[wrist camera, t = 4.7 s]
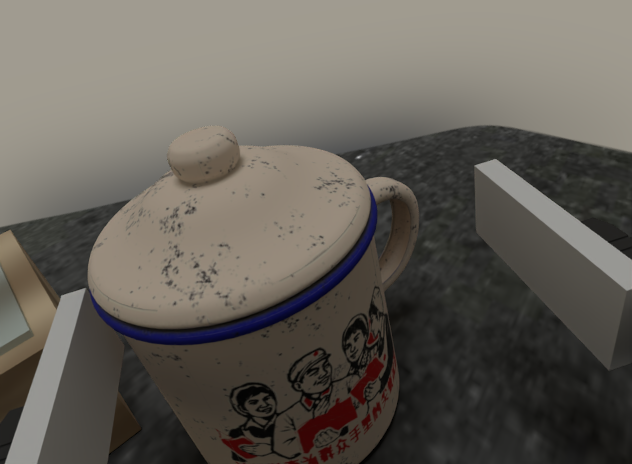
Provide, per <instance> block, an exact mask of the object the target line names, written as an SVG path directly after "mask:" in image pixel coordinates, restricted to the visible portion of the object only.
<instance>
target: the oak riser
mask: <svg viewBox="0 0 632 464" xmlns="http://www.w3.org/2000/svg"><path fill="white" fill-rule="evenodd" d="M59 302H60V298H59V297H58V295H57V294H56V293H55V291H54V290H53V288H52V287H51V286H50V284H49V283H48V282H47V280H46V279H45V277H44V276H43V275H42V273H41V272H40V270H39V269H38V268H37V266H36V265H35V263H34V262H33V261H32V259H31V258H30V257H29V255H28V254H27V252H26V251H25V250H24V248H23V247H22V245H21V244H20V243H19V241H18V240H17V239H16V237H15V236H14V234H13V233H12V232H11V230H9V231H7V232H5V233H3V234H1V235H0V423H1V422H2V420H3V419H4V418H5V416H6V415H7V413H8V412H9V411H10V410H13V409H16V408H19V407H22V406H25V403H26V400H27V397H28V394H29V391H30V388H31V385H32V382H33V379H34V376H35V373H36V370H37V367H38V364H39V361H40V358H41V355H42V352H43V349H44V346H45V343H46V340H47V338H48V335H49V332H50V329H51V326H52V323H53V320H54V317H55V314H56V311H57V308H58V305H59ZM140 430H141V427H140V425H139V424H138V422H137V421H136V419H135V417H134V416H133V414H132V412H131V411H130V409H129V408H128V406H127V404H126V403H125V401H124V399H123V398H122V396H121V395H120V393H119V391H118V394H117V401H116V408H115V415H114V421H113V428H112V435H111V442H110V449H109V454H110V453H111V452H112V451H114V450H115V449H116V448H117V447H119V446H120V445H121V444H123V443H124V442H125V441H127V440H128V439H129V438H130V437H132V436H133V435H134V434H136V433H137V432H138V431H140Z"/></svg>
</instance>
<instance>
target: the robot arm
mask: <svg viewBox="0 0 632 464" xmlns="http://www.w3.org/2000/svg"><path fill="white" fill-rule="evenodd" d="M474 168H475V207H476V232H477V233H478V234H479V235H480V236H481V237H482V238H483V240H484V241H485V242H486V243H487V244H488V245H489V246H490V247H491V248H492V249H493V250H494V251H495V252H496V253H497V254H498V255H499V256H500V257H501V258H502V259H503V260H504V261H505V262H506V264H507V265H508V266H509V267H510V268H511V269H512V270H513V271H514V272H515V273H516V274H517V275H518V276H519V277H520V278H521V279H522V280H523V281H524V282H525V283H526V284H527V285H528V286H529V287H530V289H531V290H532V291H533V292H534V293H535V294H536V295H537V296H538V297H539V298H540V299H541V300H542V301H543V302H544V303H545V304H546V305H547V306H548V307H549V308H550V309H551V310H552V311H553V313H554V314H555V315H556V316H557V317H558V318H559V319H560V320H561V321H562V322H563V323H564V324H565V325H566V326H567V327H568V328H569V329H570V330H571V331H572V332H573V333H574V334H575V335H576V336H577V338H578V339H579V340H580V341H581V342H582V343H583V344H584V345H585V346H586V347H587V348H588V349H589V350H590V351H591V352H592V353H593V354H594V355H595V356H596V357H597V358H598V359H599V360H600V362H601V363H602V364H603V365H604V366H605V367H606V368H607V369H608V370H609V371H610V370H613V369H615V368H618V367H621V366H624V365H627V364H630V363H632V238H631V237H630V238H629V237H628V235H627V234H626V233H624V232H623V231H621V230H620V229H618V228H617V227H616V226H614V225H612V224H610V223H607V222H604V221H601V220H598V219H596V218H590V219H587V220H584V221H581V222H580V221H579V220H577V219H576V218H574V217H573V216H572V215H570V214H569V213H568V212H566V211H565V210H564V209H562V208H561V207H560V206H558V205H557V204H556V203H554V202H553V201H552V200H550V199H549V198H548V197H546V196H545V195H543V194H542V193H541V192H539V191H538V190H537V189H535V188H534V187H533V186H531V185H530V184H529V183H527V182H526V181H525V180H523V179H522V178H521V177H519V176H518V175H517V174H515V173H514V172H512V171H511V170H510V169H508V168H507V167H506V166H504V165H503V164H502V163H500V162H499V161H498V160H496V159H494V160H491V161H488V162H485V163H482V164H479V165H475V166H474ZM123 353H124V345H123V343H122V342H121V340H120V339H119V337H118V336H117V334H116V333H115V331H114V330H113V328H111V327H110V326H109V325H107V324H106V323H105V322H104V321H103V319H102V318H101V317H100V316H99V315H98V313H97V311H96V310H95V308H94V306H93V303H92V300H91V296H90V294H89V292H88V291H87V289H86V288H84V289H81V290H78V291H75V292H72V293H68V294H65V295H62V296H61V299H60V302H59V305H58V308H57V311H56V314H55V317H54V320H53V323H52V326H51V329H50V332H49V335H48V338H47V340H46V343H45V346H44V349H43V352H42V355H41V358H40V361H39V364H38V367H37V370H36V373H35V376H34V379H33V382H32V385H31V388H30V391H29V394H28V397H27V400H26V403H25V406H22V407H19V408H16V409H13V410H10V411H9V412H8V413H7V415H6V416H5V418H4V419H3V420H2V422H1V423H0V464H107V462H108V455H109V449H110V442H111V435H112V428H113V421H114V415H115V408H116V401H117V394H118V387H119V380H120V374H121V367H122V360H123Z"/></svg>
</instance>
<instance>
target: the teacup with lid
mask: <svg viewBox="0 0 632 464" xmlns="http://www.w3.org/2000/svg"><path fill="white" fill-rule="evenodd" d="M167 160H168V163H169V165H170V167H171V170H170V171H168V172H167V173H166V174H164V175H163V176H162V177H161V178H160V179H159V180H158V181H157V182H156V183H155V184H154V185H152V186H151V187H149V188H148V189H146V190H145V191H143V192H142V193H140V194H139V195H138V196H136V197H135V198H134V199H132V200H131V201H130V202H129V203H127V204H126V205H125V206H124V207H123V208H122V209H121V210H120V211H119V212H118V213H117V214H116V215H115V216H114V217H113V218H112V219H111V220H110V221H109V223H108V224H107V225H106V226H105V228H104V229H103V230H102V232H101V234H100V235H99V237H98V238H97V240H96V242H95V244H94V247H93V249H92V252H91V255H90V259H89V265H88V283H89V288H90V296H91V300H92V303H93V306H94V308H95V310H96V311H97V313H98V315H99V316H100V317H101V318H102V319H103V321H104V322H105V323H106V324H107V325H109V326H110V327H111V328H113V329H114V330H115V331H117V332H119V333H121V334H123V335H124V337H125V338H126V340H127V341H128V343H129V344H130V346H131V347H132V349H133V350H134V352H135V353H136V355H137V356H138V358H139V359H140V361H141V362H142V364H143V365H144V367H145V369H146V370H147V372H148V373H149V375H150V376H151V378H152V379H153V381H154V382H155V384H156V385H157V387H158V388H159V390H160V391H161V393H162V394H163V396H164V398H165V399H166V401H167V402H168V404H169V405H170V407H171V408H172V410H173V411H174V413H175V414H176V416H177V417H178V419H179V420H180V422H181V423H182V425H183V426H184V428H185V430H186V431H187V433H188V434H189V436H190V437H191V439H192V440H193V442H194V443H195V445H196V446H197V448H198V449H199V451H200V452H201V454H202V455H203V457H204V459H205V460H206V461H207V463H208V464H359V463H360V462H361V461H362V460H363V459H364V458H365V457H366V456H368V455H369V454H370V452H371V451H372V450H373V449H374V448H375V447H376V445H377V444H378V443H379V441H380V440H381V438H382V437H383V435H384V434H385V432H386V430H387V428H388V427H389V425H390V422H391V420H392V418H393V415H394V412H395V409H396V406H397V401H398V395H399V373H398V366H397V361H396V355H395V350H394V344H393V339H392V333H391V328H390V322H389V317H388V311H387V306H386V300H385V295H384V291H385V290H386V289H388V288H389V287H390V286H391V285H392V284H393V283H394V282H395V281H396V280H397V278H398V277H399V276H400V275H401V273H402V272H403V270H404V269H405V267H406V265H407V263H408V261H409V259H410V257H411V255H412V252H413V249H414V246H415V243H416V239H417V234H418V227H419V210H418V204H417V201H416V198H415V196H414V194H413V192H412V191H411V190H410V189H409V188H408V187H407V186H406V185H404V184H402V183H400V182H398V181H396V180H393V179H390V178H385V177H375V178H371V179H368V180H364V178H363V176H362V175H361V174H360V173H359V172H358V171H357V170H356V169H355V168H354V167H353V166H352V165H351V164H350V163H348V162H347V161H346V160H344V159H342V158H341V157H339V156H337V155H335V154H333V153H330V152H327V151H324V150H320V149H316V148H311V147H303V146H290V145H284V146H283V145H278V146H265V147H259V146H238V143H237V140H236V137H235V136H234V134H233V133H232V132H231V131H229V130H228V129H226V128H224V127H222V126H206V127H201V128H198V129H194V130H191V131H189V132H187V133H185V134H183V135H181V136H179V137H178V138H176V139H175V140H174V141H173V142H172V143H171V145H170V146H169V149H168V153H167ZM386 200H390V203H391V208H392V225H391V231H390V235H389V238H388V241H387V244H386V246H385V249H384V251H383V252H382V254H381V256H380V257H379V259H378V256H377V250H376V245H375V239H374V232H375V229H376V224H377V206H376V205H378V204H379V203H381V202H384V201H386Z"/></svg>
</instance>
